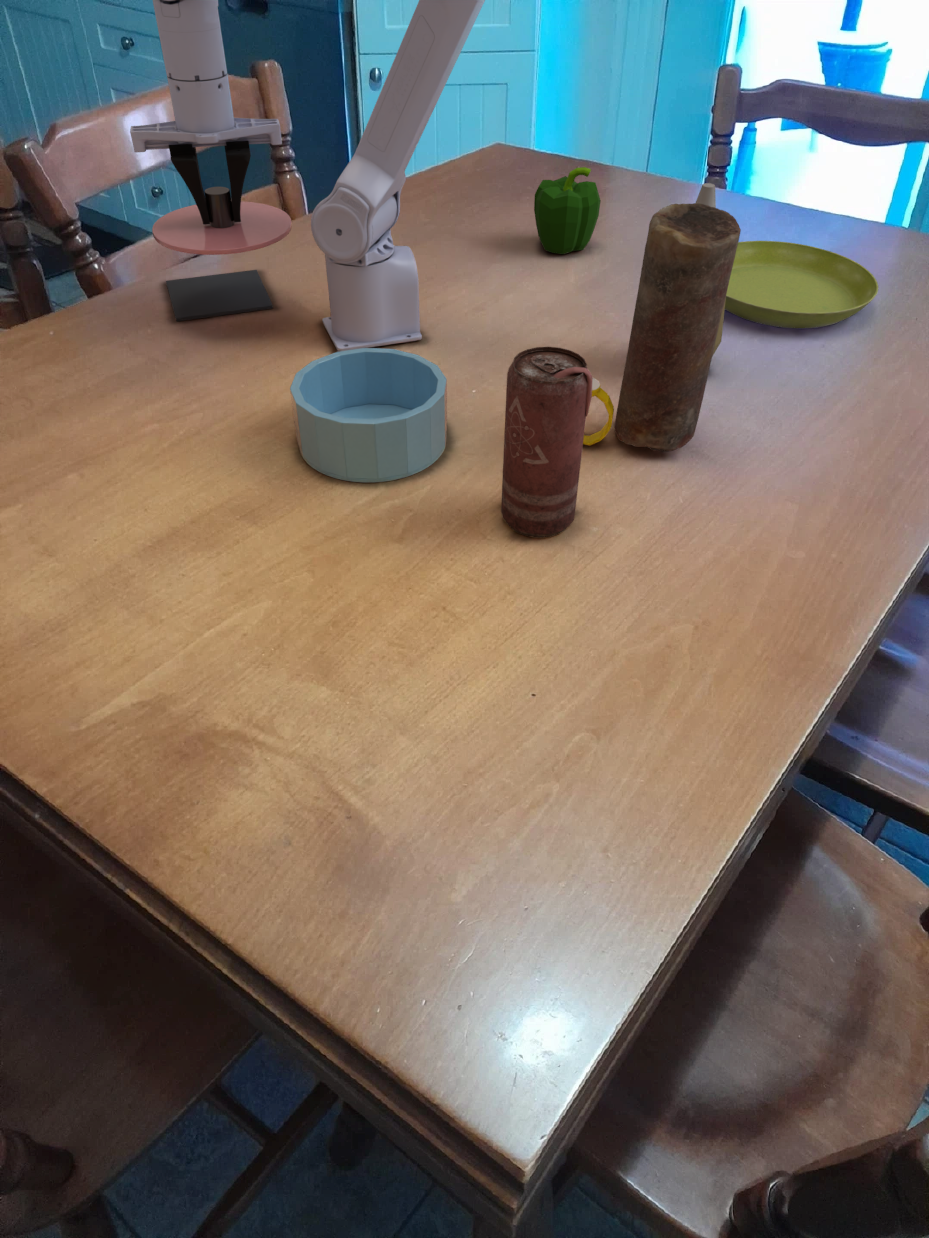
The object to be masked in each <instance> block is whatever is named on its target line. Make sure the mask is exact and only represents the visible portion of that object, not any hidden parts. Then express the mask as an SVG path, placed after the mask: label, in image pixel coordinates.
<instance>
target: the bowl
mask: <svg viewBox="0 0 929 1238" xmlns="http://www.w3.org/2000/svg"><path fill="white" fill-rule="evenodd" d="M291 382H292V383H291V385H290V387H289V392H290V399H291V400H290V401H291V407H292V415H293V422H294V428H295V436H296V442H297V445H298V449H299V453H300V455H301V457H302V459H303V460H304V461H305V462H306V464H308V465H309V466H310V468H312V469H314V470H315V471H317V472H319V473H321V474H323V475H325V476H328V477H330V478H333V479H336V480H341V481H346V482H353V483H383V482H385V483H386V482H390V481H396V480H401V479H404V478H407V477H411V476H414V475H416V474H418V473H420V472H422V471H424V470H426V469H428V468H429V467H431V466H432V465H433V464H434V463H435V462H436V461H438V460H439V459H440V457H441V456H442V455H443V454H444V451H445V449H446V446H447V436H448V391H447V390H448V378H447V377H446V375H445V374H444V373H443V371H442V370H441V368H440V367H439V365H437V364H436V363H434V362H433V361H430V360H428V359H426V358H425V357H423V356H422V355H419V354H416V353H412V352H408V351H404V350H399V349H395V348H382V347H369V348H360V349H353V350H346V351H336V352H333V353H330V354H327V355H324V356H321V357H320V358H316V359H313V360H311V361H310V362H308V363H307V364H306V365H305V366H304V367H302V368H301V369H299V370H298V371H297V372H296V373H295V375H294V377H293V380H292V381H291Z"/></svg>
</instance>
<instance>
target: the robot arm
mask: <svg viewBox="0 0 929 1238" xmlns="http://www.w3.org/2000/svg"><path fill="white" fill-rule="evenodd" d="M485 1H486V0H418V2H417V4H416V7H415V9H414V11H413V14H412V16H411V19H410V21H409V24H408V26H407V28H406V31H405V33H404V35H403V37H402V39H401V42H400V45H399V47H398V50H397V52H396V54H395V57H394V59H393V61H392V64H391V66H390V68H389V70H388V73H387V76H386V78H385V81H384V83H383V85H382V87H381V90H380V92H379V95H378V97H377V100H376V102H375V104H374V107H373V108H372V111H371V114H370V116H369V118H368V121H367V123H366V126H365V128H364V131H363V133H362V135H361V138H360V140H359V142H358V145H357V147H356V149H355V152H354V154H353V156H352V157H351V158H350V160H349V162H348V163H347V165H346V166H345V168H344V169H343V171H342V172H341V174H340V175H339V177H338V178H337V180H336V182H335V184H334V186H333V189H332V191H331V192H330V194H328V196H326V197H324V199H322V200H320V201H319V202H318V203H317V205H316V206H315V207H314V209H313V211H312V213H311V219H310V230H311V235H312V238H313V240H314V242H315V244H316V246H317V247H318V249H319V250H320V251H321V252H322V254H324V261H325V272H326V280H327V281H326V282H327V291H328V302H329V312H330V316H326V317H322V319H321V320H322V321H321V322H322V324H323V326H324V328H325V331H326V332H327V333H328V336H329V337H330V339H331V342H332V343H333V345H334V348H335V349H336V351H337V352H339V351H346V350H353V349H360V348H377V347H383V346H389V345H395V344H396V345H397V344H403V343H409V342H416V341H420V340H423V335H422V333H421V319H420V283H419V282H420V281H419V273H418V266H417V261H416V258H415V255H414V253H413V250H412V249H411V247H410V246H409V245H394V240H393V237H392V228H393V227H394V226H395V225H396V224H397V222H398V220H399V217H400V213H401V194H402V190H403V187H404V185H405V184H406V181H407V177H406V169H407V168H408V166H409V164H410V161H411V159H412V157H413V155H414V152H415V150H416V148H417V147H418V144H419V143H420V140H421V137H422V136H423V133H424V131H425V129H426V127H427V125H428V123H429V121H430V118H431V117H432V115H433V112H434V110H435V108H436V105H437V104H438V101H439V100H440V97H441V95H442V93H443V91H444V89H445V86H446V84H447V82H448V80H449V78H450V76H451V74H452V72H453V69H454V68H455V65H456V63H457V61H458V59H459V57H460V55H461V52H462V50H463V48H464V46H465V44H466V42H467V40H468V38H469V35H470V33H471V31H472V30H473V27H474V25H475V23H476V21H477V19H478V17H479V14H480V12H481V10H482V8H483V7H484V4H485ZM152 4H153V10H154V14H155V15H154V16H155V21H156V25H157V31H158V35H159V42H160V46H161V53H162V57H163V62H164V63H163V64H164V69H165V74H166V78H167V84H168V89H169V94H170V100H171V106H172V111H173V117H174V120H170V121H163V122H157V123H151V124H143V125H142V124H141V125H131V126H130V131H129V133H130V137H131V143H132V147H133V151H134V153H145V152H146V151H150V150H168V151H169V156H170V161H171V163H172V165H173V167H174V169H175V170H176V171H177V173H178V174H179V176H180V177H181V179H182V180H183V182H184V183H185V185H186V187H187V189H188V190H189V192H190V194H191V196H192V198H193V200H194V203H195V205H197V207H198V209H199V212H200V215H201V218H202V221H203V224H204V225H206V224H210V220H209V215H208V210H207V204H206V199H205V193H204V191H205V190H204V186H203V182H202V177H201V171H200V166H199V159H198V153H197V148H205V147H206V148H207V147H209V148H210V147H224V152H225V160H226V165H227V171H228V179H229V186H230V195H231V201H232V210H233V217H234V222H241V216H240V208H241V201H242V196H243V195H242V194H243V189H244V183H245V179H246V175H247V172H248V169H249V165H250V161H251V155H252V154H251V148H250V145H260V144H261V145H262V144H263V145H264V144H271V145H272V146H278V145H279V146H281V145H283V139H282V131H281V124H280V120H279V118H251V117H250V118H249V117H248V118H246V117H234V116H235V115H234V110H233V101H232V95H231V88H230V82H229V74H228V68H227V62H226V55H225V48H224V42H223V41H224V40H223V35H222V27H221V21H220V14H219V9H218V7H219V0H152Z"/></svg>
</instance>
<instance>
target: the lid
mask: <svg viewBox="0 0 929 1238" xmlns="http://www.w3.org/2000/svg"><path fill="white" fill-rule="evenodd" d="M203 191H204V195H205V199H206V204H207V210H208V215H209V220H210V224H206V225H204V224H203V221H202V218H201V215H200V212H199V209H198V207H197V205H196V204H192V205H188V206H184V207H181V208H177V209H175V210H171V211H169V212H167V213H166V214H164V215H162V216H161V217H159V218H158V219H157V220H156V221H154V224H153V225H152V229H151V230H152V231H151V232H152V236H153V239H154V240H155V241H156V242H157V243H158V244H159V245H161V246H162V247H164V248H165V249H169V250H171V251H175V252H180V253H184V254H190V255H192V254H193V255H203V256H204V255H206V256H221V255H233V254H240V253H246V252H251V251H256V250H259V249H263V248H266V247H270V246H271V245H274V244H276V243H277V242H280V241H282V240H284V238H286V237H287V235H289V234H290V233H291V231H292V227H293V223H292V219H291V215H289V214H288V213H287V212H286V211H284V209H280V208H279V207H276V206H273V205H271V204H267V203H262V202H255V201H244V200H243V201H242V200H241V208H240V216H241V222H234V217H233V210H232V200H231V189H230V188H228V187H226V186H212V187H207V188H206V189H204V190H203Z"/></svg>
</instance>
